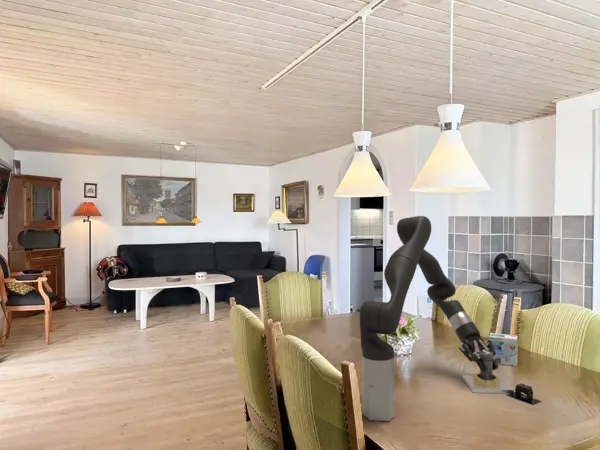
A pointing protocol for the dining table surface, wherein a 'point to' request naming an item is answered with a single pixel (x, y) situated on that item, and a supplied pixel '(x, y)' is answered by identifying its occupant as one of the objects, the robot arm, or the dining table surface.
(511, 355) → the light bulb box
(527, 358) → the dining table surface
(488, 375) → the dark grey capped cylinder
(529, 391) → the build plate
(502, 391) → the hub plate
